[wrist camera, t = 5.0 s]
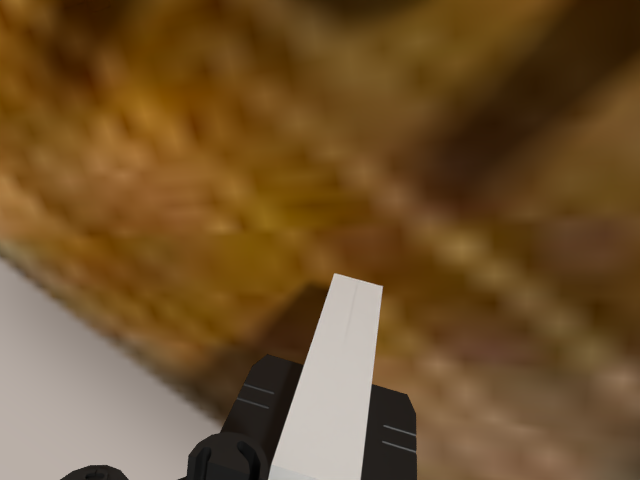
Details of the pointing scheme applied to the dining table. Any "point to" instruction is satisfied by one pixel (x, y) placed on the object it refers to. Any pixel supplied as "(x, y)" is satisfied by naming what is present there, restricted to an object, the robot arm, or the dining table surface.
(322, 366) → the robot arm
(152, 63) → the dining table surface
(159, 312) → the dining table surface
